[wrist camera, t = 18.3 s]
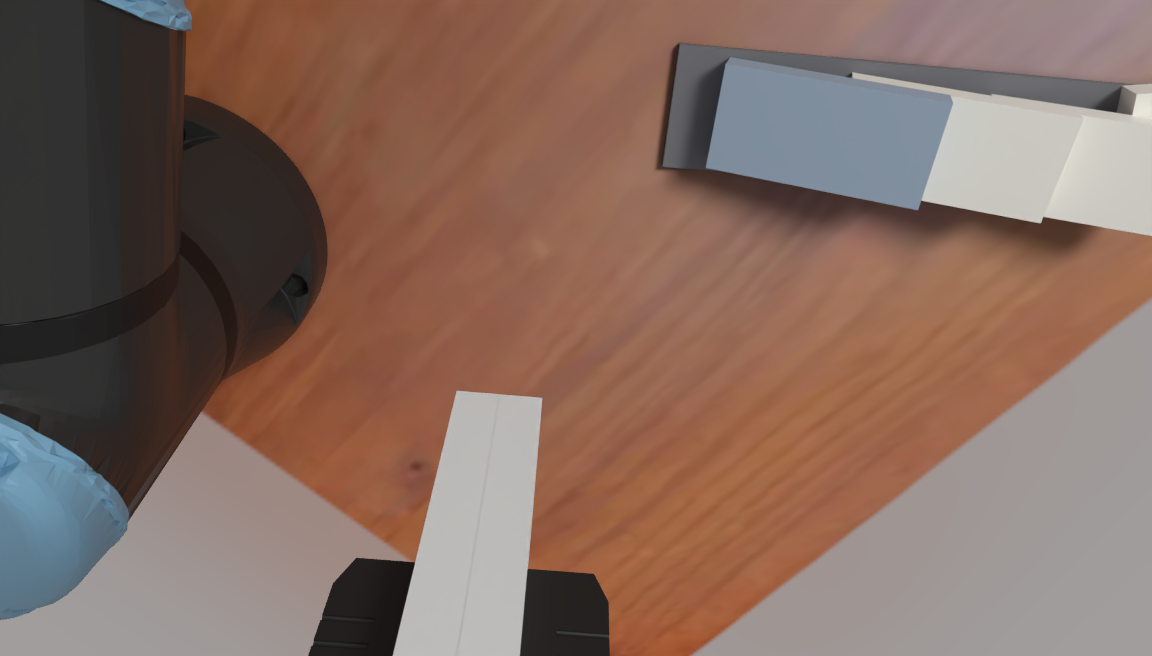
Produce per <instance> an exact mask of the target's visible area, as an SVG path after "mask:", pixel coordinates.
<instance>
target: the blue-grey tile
mask: <svg viewBox="0 0 1152 656" xmlns="http://www.w3.org/2000/svg"><path fill="white" fill-rule="evenodd" d="M952 105H953V101H952V98H951V96H950V95H948V94H942V93H936V92H930V91H924V90H919V89H913V88H907V87H901V86H895V85H889V84H884V83H878V82H872V81H866V80H860V79H855V78H849V77H843V76H837V75H831V74H826V73H820V72H814V71H808V70H802V69H797V68H791V67H785V66H779V65H773V64H768V63H762V62H756V61H750V60H744V59H739V58H733V57H730V58H729V60H728V61H727V63H726V65H725V70H724V75H723V81H722V86H721V91H720V96H719V101H718V107H717V112H716V117H715V122H714V128H713V133H712V138H711V143H710V149H709V154H708V159H707V164H706V168H709V169H714V170H719V171H724V172H729V173H734V174H739V175H744V176H749V177H754V178H759V179H764V180H769V181H774V182H779V183H784V184H789V185H794V186H799V187H804V188H809V189H814V190H819V191H824V192H829V193H834V194H839V195H844V196H849V197H854V198H859V199H864V200H869V201H874V202H879V203H884V204H889V205H894V206H899V207H904V208H909V209H914V210H918V209H919V206H920V203H921V200H922V197H923V194H924V191H925V188H926V184H927V181H928V178H929V175H930V172H931V169H932V166H933V163H934V160H935V157H936V154H937V151H938V148H939V145H940V142H941V139H942V136H943V133H944V130H945V127H946V124H947V121H948V118H949V115H950V112H951V109H952Z"/></svg>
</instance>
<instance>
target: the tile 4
mask: <svg viewBox="0 0 1152 656" xmlns="http://www.w3.org/2000/svg"><path fill="white" fill-rule="evenodd" d="M1117 113H1121V114H1127V115H1134V116H1141V117H1147V118H1152V84H1140V85H1125V86H1122V88H1121V93H1120V98H1119V103H1118V108H1117Z"/></svg>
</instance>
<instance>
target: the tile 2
mask: <svg viewBox="0 0 1152 656" xmlns="http://www.w3.org/2000/svg"><path fill="white" fill-rule="evenodd" d="M851 78H855V79H860V80H866V81H872V82H878V83H884V84H889V85H895V86H901V87H907V88H913V89H919V90H924V91H930V92H936V93H942V94H948V95H950V96H951V98H952V101H953V105H952V109H951V112H950V115H949V118H948V121H947V124H946V127H945V130H944V133H943V136H942V139H941V142H940V145H939V148H938V151H937V154H936V157H935V160H934V163H933V166H932V169H931V172H930V175H929V178H928V181H927V184H926V188H925V191H924V194H923V197H922V200H921V201H926V202H931V203H936V204H942V205H947V206H952V207H957V208H963V209H968V210H973V211H978V212H983V213H989V214H994V215H999V216H1004V217H1010V218H1015V219H1020V220H1025V221H1030V222H1036V223H1041V221H1042V219H1043V217H1044V214H1045V212H1046V209H1047V207H1048V205H1049V202H1050V200H1051V197H1052V195H1053V192H1054V190H1055V188H1056V185H1057V183H1058V180H1059V178H1060V175H1061V173H1062V171H1063V168H1064V166H1065V163H1066V161H1067V159H1068V156H1069V154H1070V151H1071V149H1072V146H1073V144H1074V142H1075V139H1076V137H1077V134H1078V132H1079V130H1080V127H1081V125H1082V122H1083V120H1084V118H1083V117H1082V116H1081V115H1080V114H1079V113H1078V112H1077V111H1076V110H1073V109H1067V108H1061V107H1056V106H1050V105H1044V104H1038V103H1032V102H1026V101H1020V100H1014V99H1008V98H1002V97H996V96H990V95H984V94H978V93H972V92H966V91H960V90H954V89H949V88H943V87H937V86H931V85H925V84H919V83H913V82H907V81H901V80H895V79H889V78H883V77H877V76H871V75H865V74H859V73H853V72H852V76H851Z"/></svg>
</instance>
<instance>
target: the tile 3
mask: <svg viewBox="0 0 1152 656" xmlns="http://www.w3.org/2000/svg"><path fill="white" fill-rule="evenodd" d="M991 96H996V97H1002V98H1008V99H1014V100H1020V101H1026V102H1032V103H1038V104H1044V105H1050V106H1056V107H1061V108H1067V109H1073V110H1076V111H1077V112H1078V113H1079V114H1080V115H1081V116H1082V117H1083V118H1084V120H1083V122H1082V125H1081V127H1080V130H1079V132H1078V134H1077V137H1076V139H1075V142H1074V144H1073V146H1072V149H1071V151H1070V154H1069V156H1068V159H1067V161H1066V163H1065V166H1064V168H1063V171H1062V173H1061V175H1060V178H1059V180H1058V183H1057V185H1056V188H1055V190H1054V192H1053V195H1052V197H1051V200H1050V202H1049V205H1048V207H1047V209H1046V212H1045V214H1044V217H1047V218H1053V219H1059V220H1064V221H1070V222H1076V223H1081V224H1087V225H1093V226H1099V227H1104V228H1110V229H1116V230H1121V231H1127V232H1133V233H1138V234H1144V235H1150V236H1152V118H1147V117H1141V116H1134V115H1127V114H1121V113H1114V112H1108V111H1101V110H1095V109H1088V108H1081V107H1075V106H1068V105H1062V104H1055V103H1049V102H1042V101H1036V100H1029V99H1022V98H1016V97H1009V96H1003V95H996V94H991Z"/></svg>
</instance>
